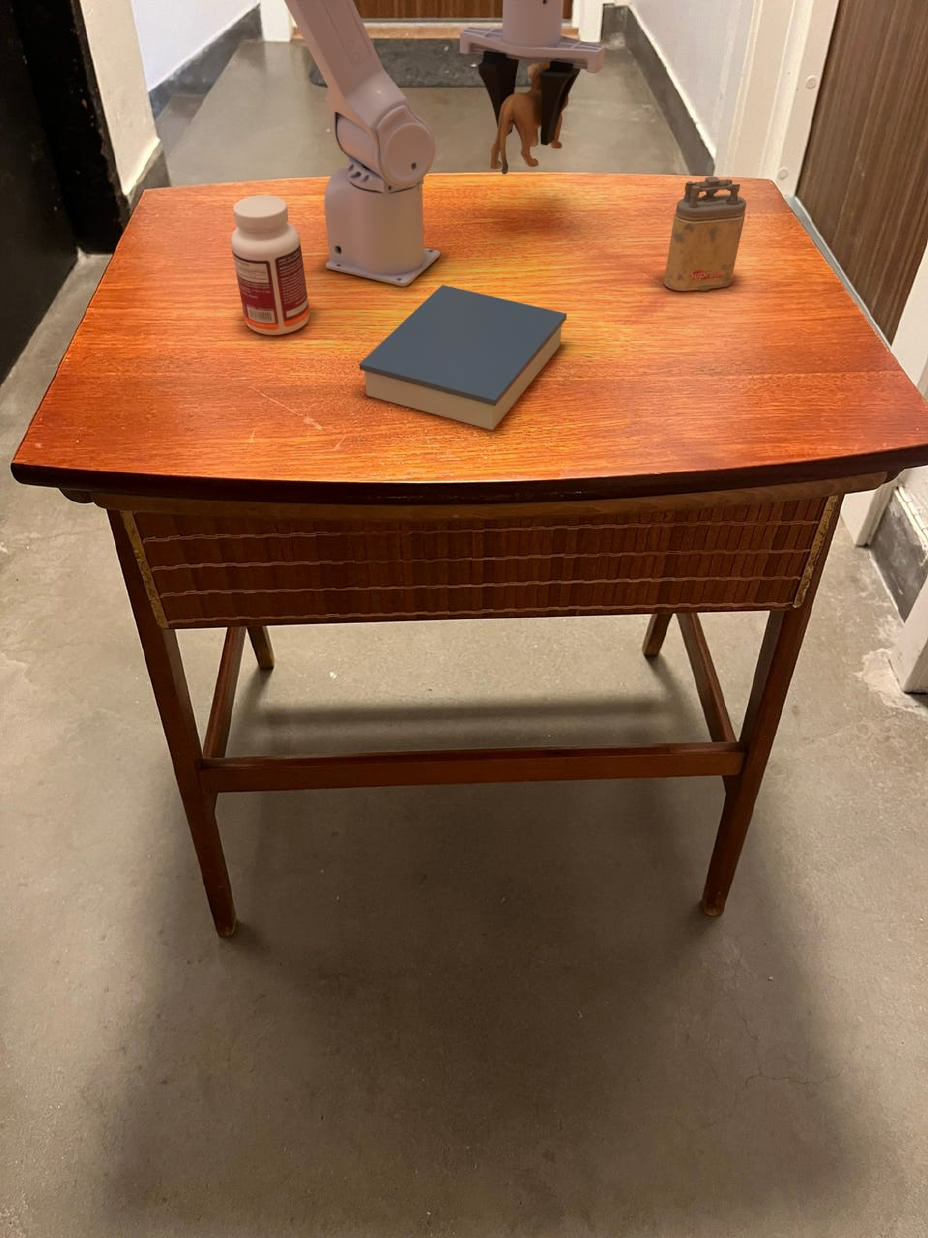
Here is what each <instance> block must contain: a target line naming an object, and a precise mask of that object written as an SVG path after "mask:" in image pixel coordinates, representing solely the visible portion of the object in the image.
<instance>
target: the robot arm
mask: <svg viewBox="0 0 928 1238" xmlns="http://www.w3.org/2000/svg"><path fill="white" fill-rule="evenodd" d="M283 1H284V3H285V5H286V8H287V9H288V11H289V13H290V15H291V17H292V19H293V21H294V23H295V25H296V27H297V29H298V30H299V33H300V35H301V37H302V39H303V41H304V43H305V44H306V46H307V49H308V51H309V53H310V54H311V57H312V58H313V60H314V62H315V64H316V67H317V68H318V70H319V72H320V74H321V76H322V78H323V80H324V82H325V84H326V86H327V88H328V90H327V92H326V94H325V97H324V102H325V103H326V105H327V107H328V109H329V112H330V115H331V121H332V123H331V124H332V134H333V139H334V142H335V143H336V145H337V147H338V149H339V150H340V151H341V152H342V153H343V154H344V155H345V156H346V163H347V165H346V166H347V167H339V168H338V169H336V170H334V172H333V173H332V174H331V175H330V177H329V179H328V180H327V184H326V188H325V191H324V192H325V193H324V204H323V205H324V207H323V208H324V216H325V228H326V238H327V247H328V256H329V257H328V258H329V260H328V261H327V262H326V263H325V268H326V269H328V270H331V271H336V272H339V273H344V274H349V275H353V276H357V277H362V278H366V279H369V280H374V281H378V282H383V283H387V284H391V285H395V286H400V287H407V286H409V285H410V284H411V283H412V282H413V281H414V280H416V278H417V277H419V276H420V275H421V274H422V273H423V272H424V271H425V270H426V269H427V268H429V266H431V265H432V263H434V262H435V261H436V260H437V259H438V258H439V257H440V256H441V251H440V250H438V249H433V248H429V247H425V233H424V229H425V228H424V194H423V185H424V184H425V180H424V179H425V176H427V174H428V172H429V171H430V170H431V167H432V164H433V162H434V160H435V156H436V138H435V135H434V132H433V129H432V128H431V127H430V125H429V124H428V123H427V121H426V120H424V119H422V118H421V117H420V116H418V115H417V114H416V113H415V111H413V109H412V106H411V105H410V102H409V99H408V98H407V97H406V95H405V94H404V93H403V91H402V90H401V89H400V87H399V86H398V85H397V84H396V82H394V80H393V79H392V78H391V77H390V75H389V74H388V73H387V72H386V69H384V66H383V64H382V62H381V60H380V58H379V56H378V53H377V51H376V48H375V46H374V44H373V42H372V40H371V37H370V35H369V32H368V30H367V28H366V26H365V24H364V22H363V20H362V18H361V14H360V13H359V11H358V9H357V7H356V6H357V5H356V4H355V2H354V0H283ZM563 14H564V0H502V24H501V25H502V26H501V27H502V28H493V27H475V26H467V27H465V28H464V29H462V30H460V32H459V53H460V54H463V55H465V54H466V55H470V54H472V53H474V54H479V55H482V58H481V60H482V61H481V62H480V63H478V64H477V70H478V75H479V76H480V78H481V80H482V83H483V84H484V86H485V89H486V91H487V94H488V97H489V99H490V102H491V105H492V106H491V107H492V109H493V113H494V118H495V121H496V127H497V129H498V123H499V116H500V110H501V107H502V104H503V103H504V101H505V100H506V98H507V97H509V96H510V95H512V94H514V93H516V83H517V75H518V68H519V63H520V61H526V62H533V63H534V62H539V63H545V64H550V68H547V69H546V70H544V71H543V72H542V73H540V83H541V92H542V121H541V127H540V135H539V139H540V140H539V141H540V145H541V146H549V145H550V143H551V142H552V141H553V140H554V136H555V132H556V128H557V124H558V120H559V117H560V114H561V111H562V108H563V106H564V103H565V101H566V98H567V96H568V97H569V94H570V92H571V90H572V88H573V86H574V84H575V82H576V80H577V78H578V77H579V75H580V72H581V70H586V73H590V74H598V73H599V72H600V71H601V70H602V69H603V68H604V62H605V53H606V46H605V45H601V44H596V43H591V42H588V41H583V40H580V39H578V38H577V39H576V38H573V37H569V36H566V35H562V27H563ZM562 112H563V111H562ZM513 128H514V125H513V126H512V128H511V130H510V132H509V133H508V135H507V137H508V136H509V135H510V134H511V133H513Z"/></svg>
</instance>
